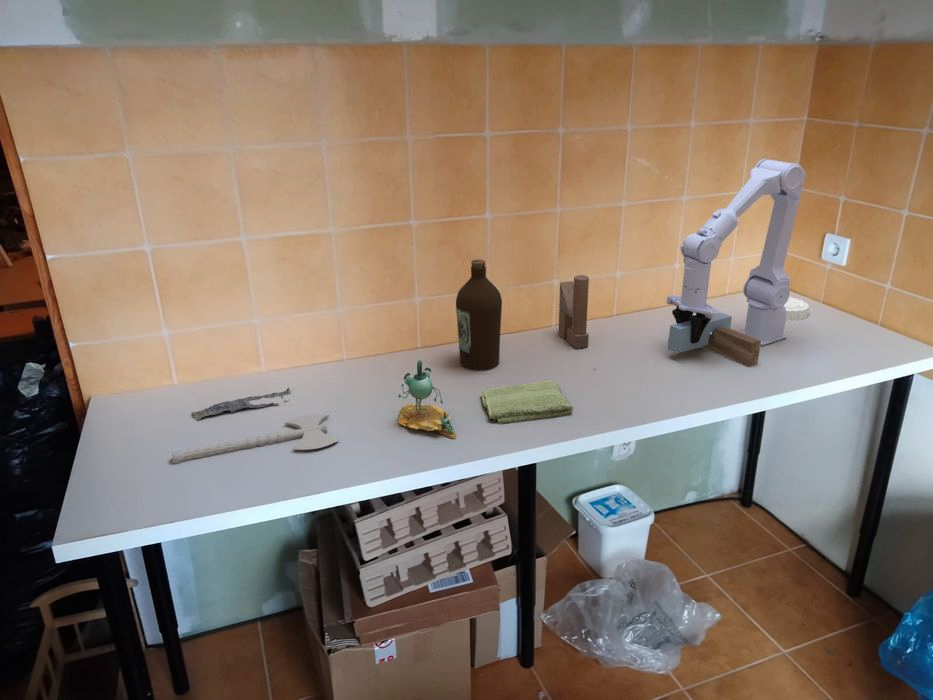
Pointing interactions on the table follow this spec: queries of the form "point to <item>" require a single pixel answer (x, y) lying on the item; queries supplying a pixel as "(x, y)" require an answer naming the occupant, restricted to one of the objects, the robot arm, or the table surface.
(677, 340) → the slate crossbar
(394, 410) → the table surface
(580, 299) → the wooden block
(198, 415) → the driftwood
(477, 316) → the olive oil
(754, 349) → the walnut beam
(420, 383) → the frog figurine
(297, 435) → the axe
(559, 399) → the washcloth
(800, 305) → the mooncake
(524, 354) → the table surface
